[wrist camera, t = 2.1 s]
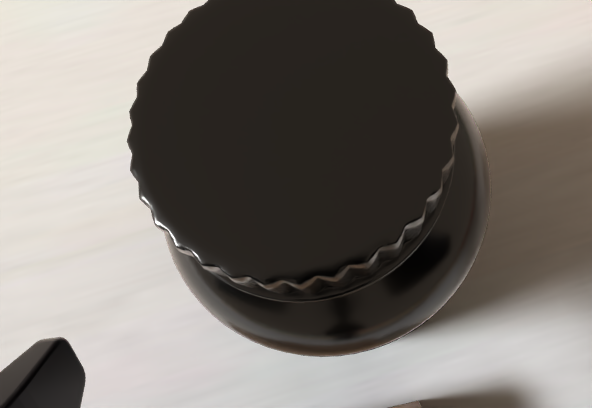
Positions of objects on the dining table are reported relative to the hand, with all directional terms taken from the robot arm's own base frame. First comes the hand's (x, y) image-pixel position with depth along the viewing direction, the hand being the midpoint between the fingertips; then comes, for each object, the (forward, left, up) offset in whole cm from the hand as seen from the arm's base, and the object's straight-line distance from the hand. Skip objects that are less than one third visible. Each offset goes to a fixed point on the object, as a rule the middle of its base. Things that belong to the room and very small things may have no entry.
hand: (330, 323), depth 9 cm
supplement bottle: (+3, 0, -10) cm, 11 cm away
